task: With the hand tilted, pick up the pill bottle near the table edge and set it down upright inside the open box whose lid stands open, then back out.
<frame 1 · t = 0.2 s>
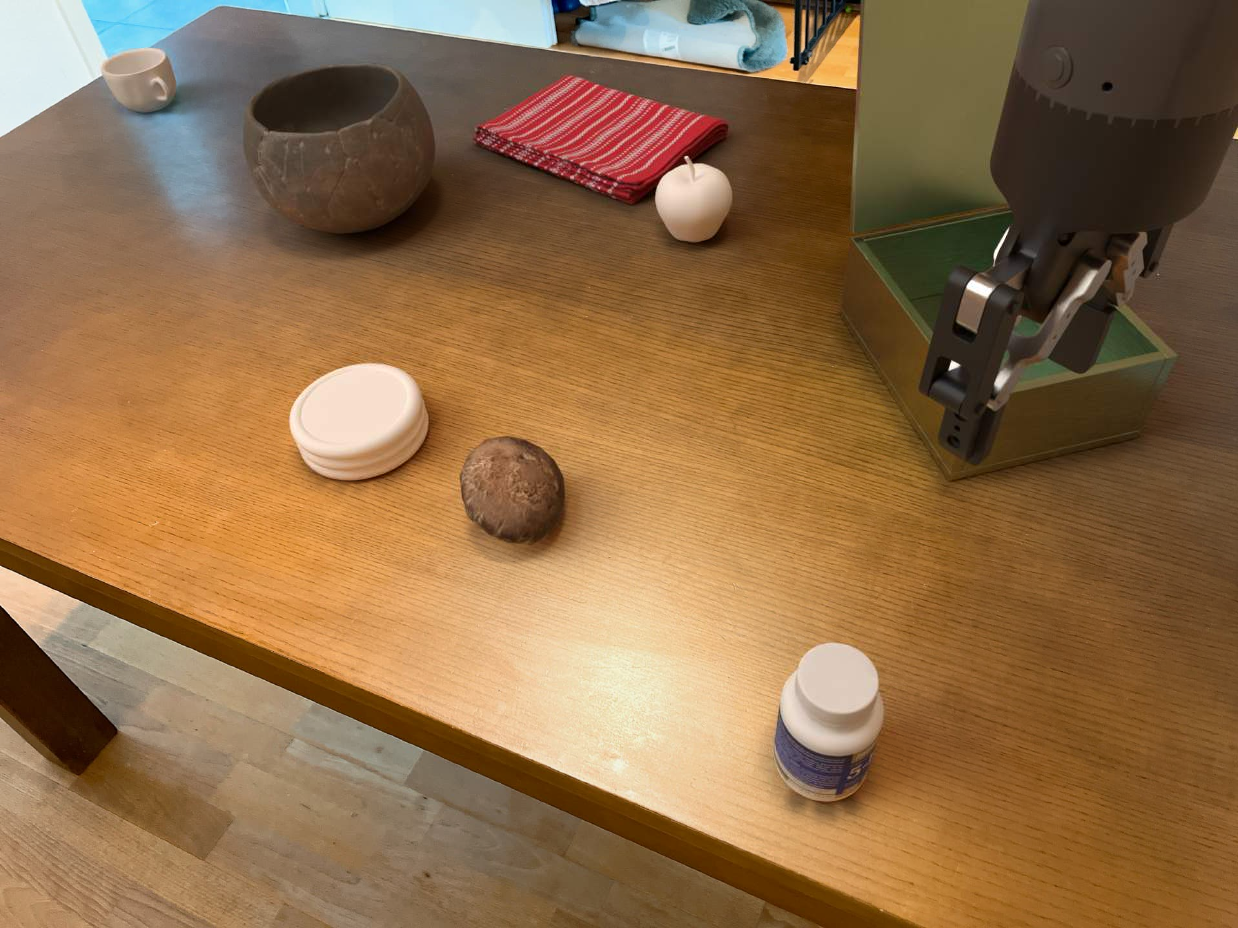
hand: (1016, 406, 43), 19 cm above the table, tool pointing down, fingers open, 8 cm apart
bowl: (362, 214, 94), on the table
mushroom: (520, 518, 65), on the table
plain white apple: (693, 234, 88), on the table
white round flat piece: (367, 437, 72), on the table
teacup: (158, 108, 114), on the table
open box: (976, 372, 72), on the table
dish towel: (601, 144, 101), on the table
box lid: (940, 75, 68), point 18 cm above the table, hinge at 100.0°
pill bottle: (820, 759, 52), on the table
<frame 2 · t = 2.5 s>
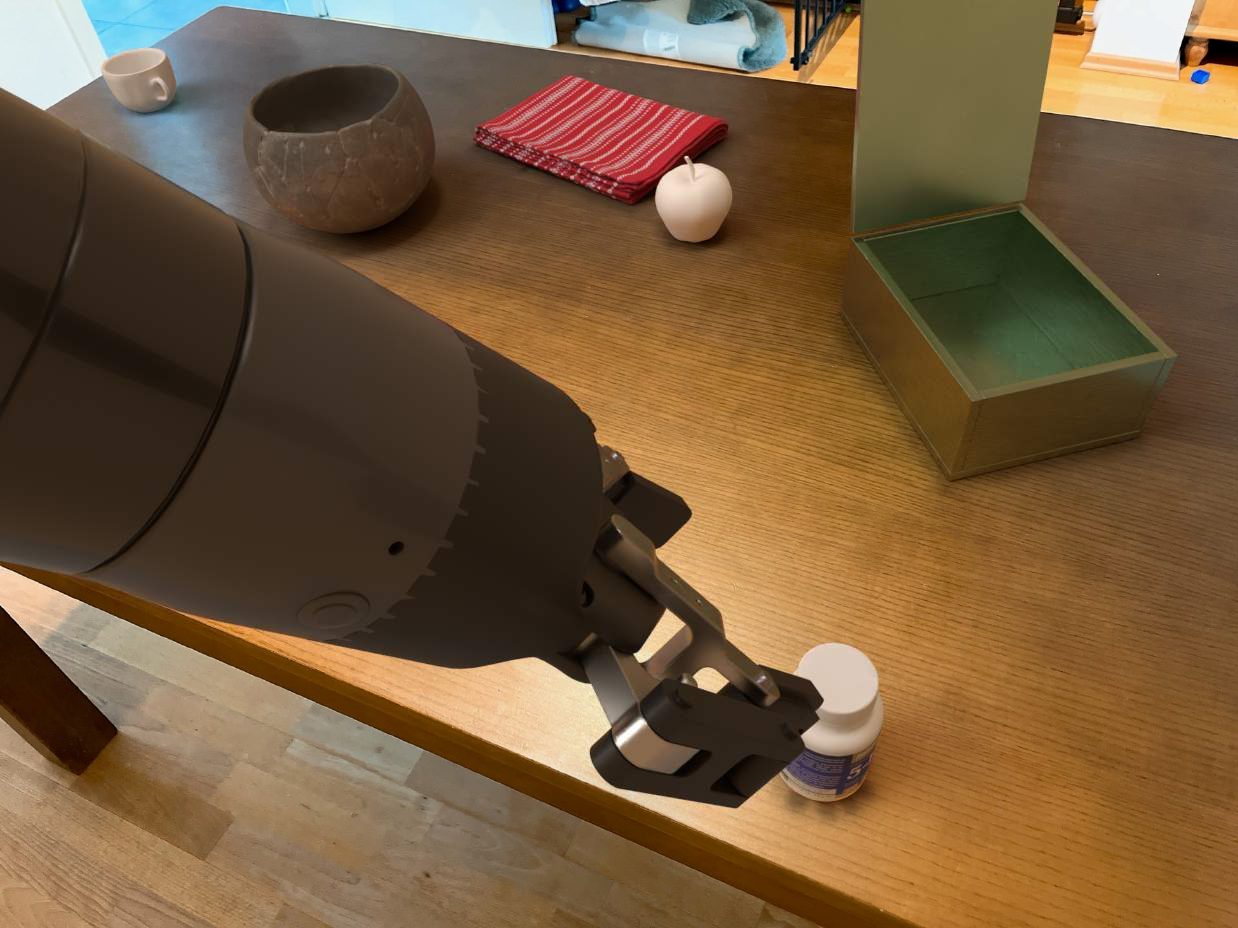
hand: (729, 611, 32), 23 cm above the table, tool tilted 40°, fingers open, 8 cm apart
nothing on the table moved.
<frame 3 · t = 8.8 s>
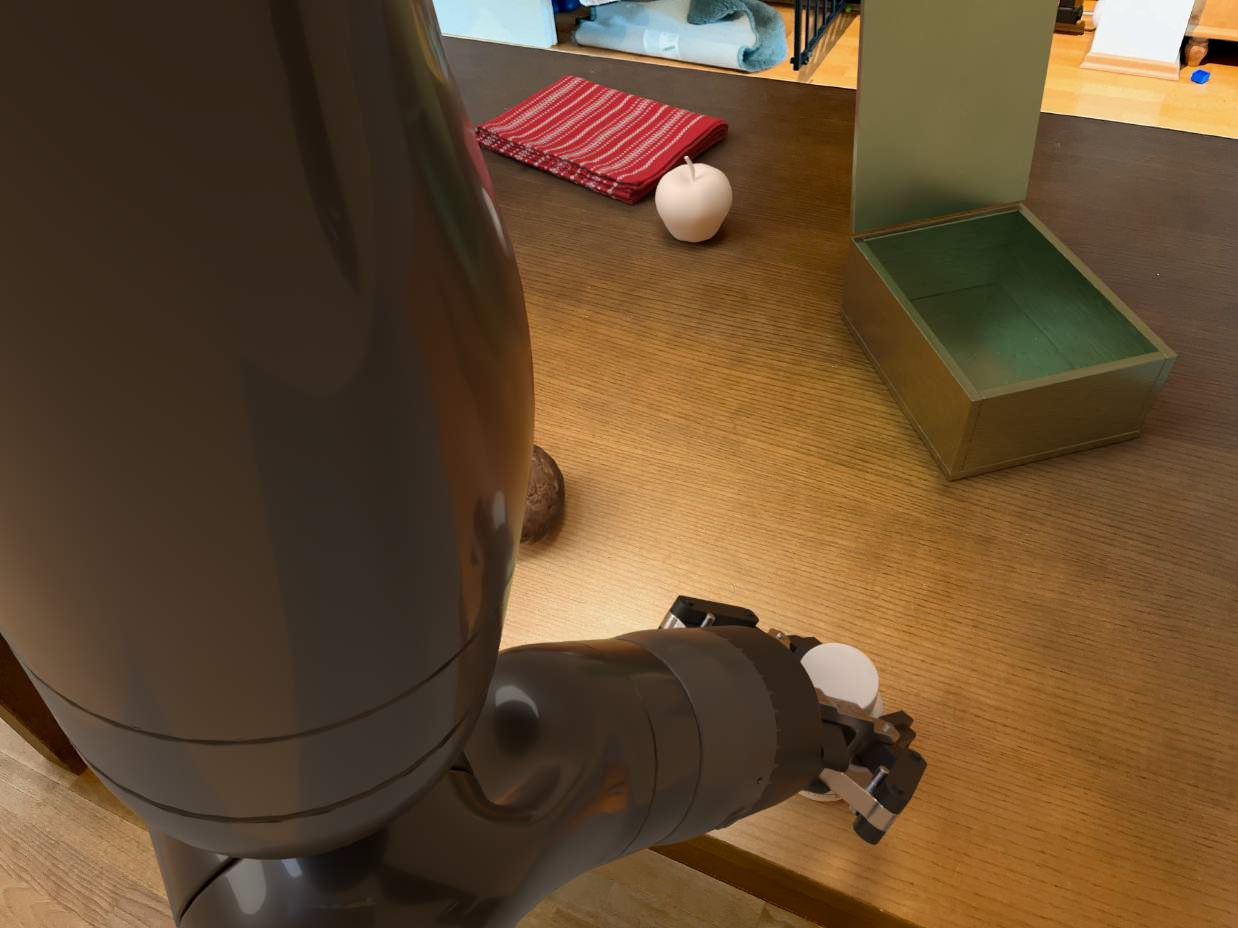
hand: (852, 691, 49), 5 cm above the table, tool tilted 45°, fingers closed on pill bottle, 5 cm apart
pill bottle: (820, 759, 52), on the table, touching gripper
everything else where it was.
when the fingers open (6 cm above the table, at t = 19.1 s): pill bottle stays where it is, resting on open box.
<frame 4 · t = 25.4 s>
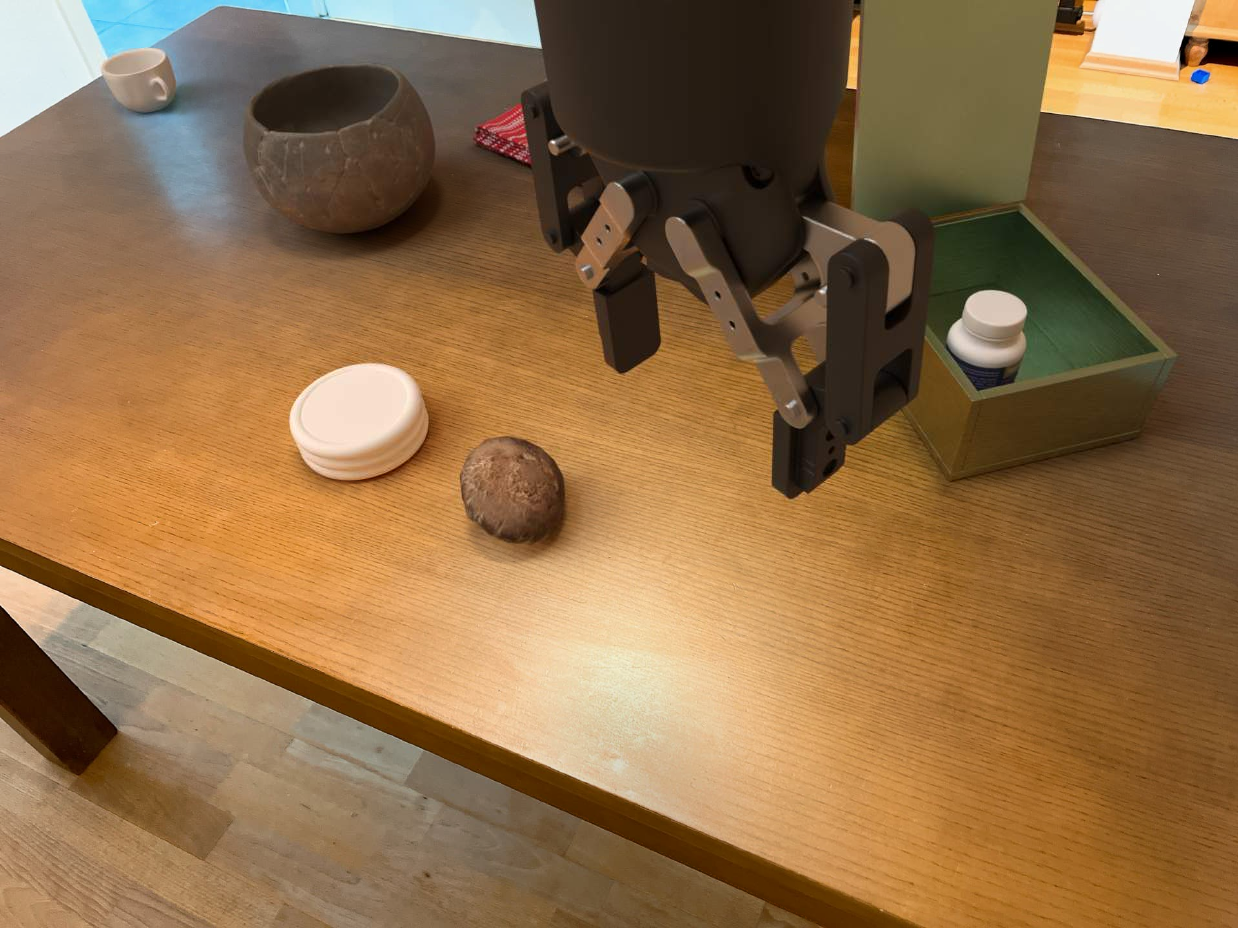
hand: (711, 415, 32), 27 cm above the table, tool pointing down, fingers open, 8 cm apart
pill bottle: (967, 404, 69), point 1 cm above the table, touching open box
everything else where it was.
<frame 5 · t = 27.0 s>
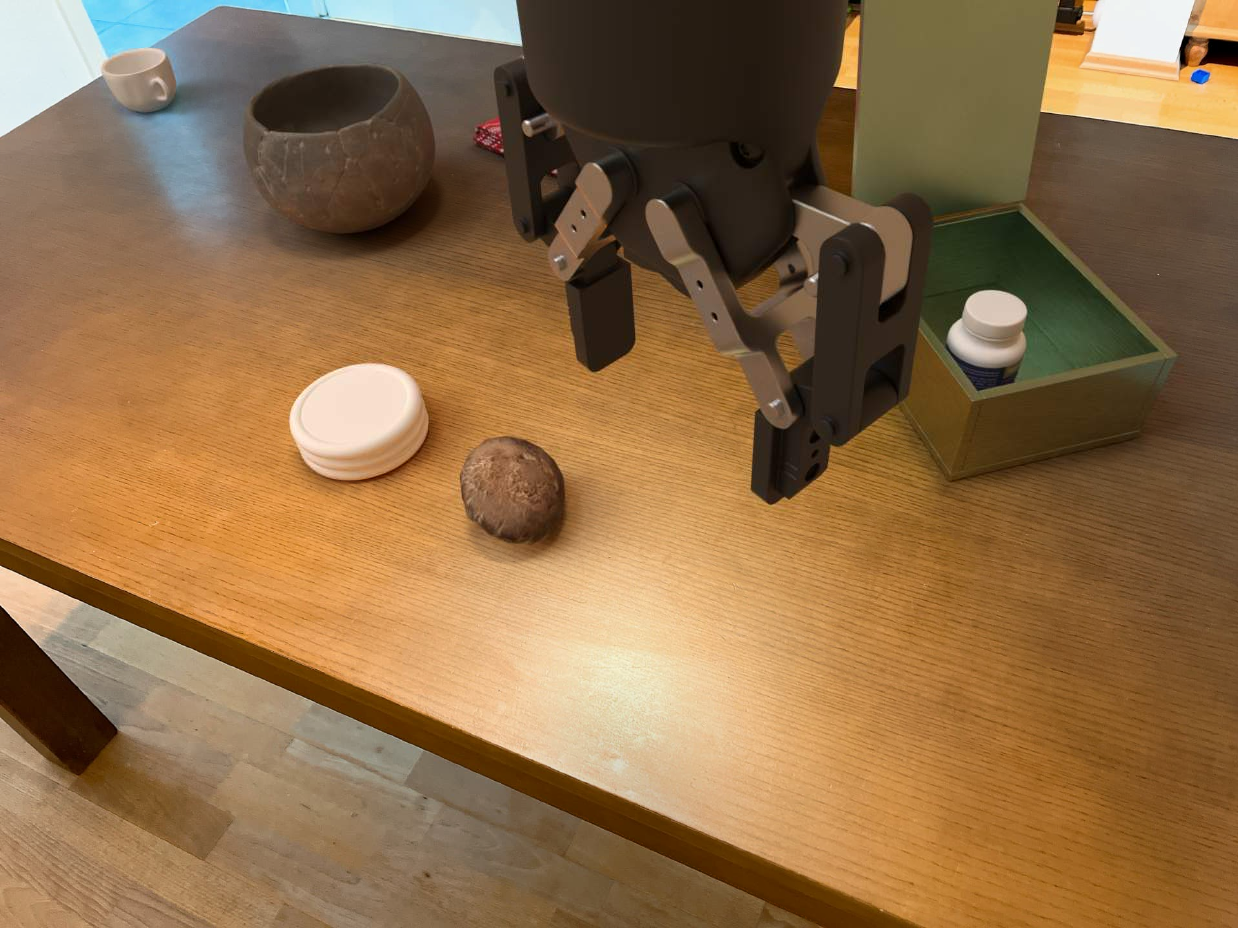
hand: (687, 416, 31), 28 cm above the table, tool pointing down, fingers open, 8 cm apart
nothing on the table moved.
at the end: pill bottle inside the target area in the open box (2.9 cm from its centre), point 0.6 cm above the open box's base; pill bottle tilted 0°; the gripper is holding nothing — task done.
